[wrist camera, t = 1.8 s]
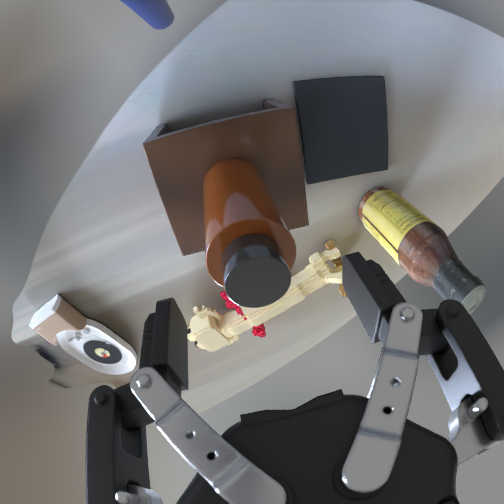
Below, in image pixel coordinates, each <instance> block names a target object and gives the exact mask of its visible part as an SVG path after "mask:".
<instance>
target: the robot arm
mask: <svg viewBox="0 0 504 504" xmlns="http://www.w3.org/2000/svg"><path fill="white" fill-rule="evenodd" d="M342 283H343V287H344V290H345V292H346V294H347V296H348V298H349V300H350V302H351V303H352V305H353V307H354V309H355V311H356V313H357V314H358V316H359V318H360V320H361V322H362V324H363V326H364V327H365V329H366V331H367V333H368V335H369V337H370V339H371V341H372V343H376V342H378V341H381V343H382V345H383V347H382V351H381V355H380V358H379V362H378V365H377V369H376V372H375V376H374V379H373V382H372V385H371V388H370V391H369V394H368V397H367V398H366V397H363V396H359V395H343V392H342V390H341V389H340V390H337V391H334V392H331V393H327V394H324V395H321V396H317V397H316V398H314V399H312V400H310V401H308V402H307V403H305V404H303V405H301V406H299V407H297V408H295V409H292V410H263V411H258V412H253V413H248V414H243V415H240V417H241V421H240V422H238V423H236V424H234V425H233V426H231V427H230V428H229V429H227V430H226V431H225V432H224V433H223V434H222V435H221V436H220V435H219V434H218V433H217V432H216V431H215V430H213V429H212V428H211V427H210V426H209V425H208V424H207V423H206V422H205V421H204V420H203V419H202V418H201V417H200V416H199V415H198V414H197V413H196V412H195V411H194V410H193V409H192V408H191V407H190V406H189V405H188V404H187V403H186V402H185V401H184V400H183V399H182V398H181V391H182V390H189V389H188V346H187V325H186V322H185V319H184V317H183V315H182V313H181V311H180V309H179V308H178V306H177V304H176V302H175V300H174V299H173V298H169V299H164V300H160V301H157V303H156V311H155V313H152V314H149V316H148V318H147V320H146V321H145V324H144V334H143V339H142V340H143V341H142V348H141V357H140V366H139V370H137V371H136V372H135V373H134V374H133V375H132V377H131V379H130V382H129V383H128V384H126V385H123V386H121V387H119V388H116V389H114V390H113V389H112V388H111V387H109V386H106V385H102V386H99V387H97V388H96V389H94V391H93V392H92V393H91V395H90V398H89V406H88V418H87V431H86V457H85V466H86V467H85V473H86V474H85V478H86V479H85V480H86V504H163V502H162V499H161V497H160V496H159V495H158V494H157V493H156V492H155V491H153V490H151V488H150V480H149V469H148V457H147V442H146V441H147V440H146V425H148V424H150V423H153V422H156V423H155V424H156V426H157V428H158V429H159V430H160V431H161V432H162V434H163V435H164V436H165V437H166V438H167V440H168V441H169V442H170V443H171V444H172V445H173V446H174V448H175V449H176V450H177V451H178V452H179V453H180V454H181V455H182V456H183V457H184V458H185V459H186V461H187V462H188V463H189V464H190V465H191V466H192V467H193V468H194V469H195V470H196V471H197V473H196V475H195V476H194V478H193V479H192V481H191V482H190V484H189V485H188V487H187V488H186V490H185V491H184V493H183V494H182V496H181V497H180V498H179V500H178V501H177V503H176V504H459V501H458V499H457V496H456V473H457V466H458V465H459V464H461V463H463V462H464V461H466V460H468V459H470V458H471V457H473V456H474V455H476V454H480V453H482V452H484V451H486V450H488V449H489V448H491V447H493V446H494V445H496V444H497V443H499V442H501V441H502V440H504V370H503V368H502V366H501V365H500V363H499V361H498V359H497V358H496V356H495V355H494V353H493V351H492V349H491V347H490V346H489V344H488V342H487V341H486V339H485V338H484V336H483V334H482V333H481V332H480V330H479V328H478V327H477V325H476V323H475V322H474V320H473V319H472V317H471V316H470V314H469V313H468V312H467V310H466V309H465V307H464V306H463V305H462V304H461V303H460V302H459V301H457V300H453V299H447V300H444V301H443V302H442V303H440V305H439V308H438V309H427V310H422V309H420V308H419V307H418V306H416V305H415V304H413V303H408V302H406V301H405V299H404V298H403V296H402V295H401V294H400V292H399V291H398V289H397V288H396V287H395V285H394V284H393V282H392V281H391V280H390V278H389V277H388V276H387V274H385V271H384V270H383V269H382V267H381V266H380V265H379V264H377V263H376V262H374V261H372V260H368V261H366V260H365V259H364V258H363V256H362V255H361V254H360V253H359V252H356V253H352V254H348V255H345V256H343V267H342ZM418 355H426V356H427V358H428V360H429V362H430V364H431V366H432V368H433V370H434V372H435V375H436V377H437V379H438V381H439V383H440V385H441V387H442V390H443V392H444V394H445V396H446V398H447V401H448V403H449V405H450V408H451V410H452V413H451V415H450V417H449V420H448V427H449V439H448V440H447V439H446V438H444V437H443V436H440V435H438V434H436V433H434V432H432V431H430V430H428V429H426V428H424V427H422V426H420V425H418V424H416V423H414V422H412V421H410V420H408V419H406V418H407V415H408V411H409V407H410V403H411V399H412V394H413V390H414V385H415V380H416V375H417V370H418V364H419V356H418Z"/></svg>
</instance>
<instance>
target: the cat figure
mask: <svg viewBox="0 0 504 504" xmlns="http://www.w3.org/2000/svg"><path fill="white" fill-rule="evenodd" d="M325 246H326V248H327V249H328V251H327V250H325V251H323V252H322V253H320V252H319V253H318V252H316V253H314V254H312V255H311V256H309V257H310V258H309V259H308V260H309V262H310V264H309V265H307V266H306V267H305V269H304V270H302V271H300V272H299V273H297V274H296V275H294V276H292V277H291V284H290V287H289V289H288V291H287V292H286V293H285V295H284V296H283V297H282V298H280V299H279V300H278V301H276V302H274V303H272V304H270V305H268V306H264V307H259V308H247V307H243V306H241V307H239V305H237V304H235V303H234V302H233V301H231V300H230V299H229V298H228V296H227V295H226V292H225V291H223V292H221V293H220V296H221V297H222V298H223V299H224V300H225V301H226V302H227V303H225V305H226V306H227V308H228V309H230V308H231V309H233V306H234V308H235V310H234V311H229V312H228V313H226V314H224V315H222V316H221V315H220V314H219V313H218V312H217V311H216V310H215V309H211V308H207V307H205V305H203V306H202V307H203V308H202V309H201V308H200V307H198V306H196V307H194V308H193V309H194V313H195V314H196V315H195V316H193V317H192V319H191V320H190V326H189V328H188V329H187V339H188V340H190V341H195V346H196V347H198V348H200V349H202V348H203V349H204V348H205V349H207V350H208V351H210V352H212V351H213V352H215V351H217V350H219V349H220V348H222V347H224V346H226V345H228V344H230V345H231V344H233V342H235V341H237V340H239V339H238V338H239V334H240V333H242V332H244V331H246V330H248V329H250V328H251V327H253V331H252V333H253V334H254V336H256V335H257V336H260V337H265V335H266V333H265V327H264V325H263V323H264V322H266V321H267V320H269V319H271V318H273V317H275V316H276V315H278V314H280V313H282V312H283V311H285V310H287V309H288V308H290V307H292V306H294V305H295V304H297V303H299V302H300V301H302V300H304V299H305V298H304V297H305V296H307V295H309V294H310V293H312V292H314V291H315V290H317V289H319V288H320V287H322V286H323V287H324V286H325V285H327V284H329V283H332V282H333V283H335V282H336V283H339V284H340V283H342V267H343V264H342V261H341V260H340V259H339V258H338V257H340V256H341V254H340V252H339V250H338V249H337V248H336V247H335V245H334V243H333V242H332V240H331V239H330V240H329V241H327V242H326V243H325ZM334 258H335V260H334V261H333V263H334V266H335V267H336V268H335V267H334V268H332V269H331V270H330V268H329V266H328V265H327V263H326V261H327V260H329V259H330V260H332V259H334ZM338 289H339V292H340V293H341V295H342V296H343V297H344V296H346V297H347V294H346V292H345V290H344V287H343V283H342V284H340V285H339V288H338Z"/></svg>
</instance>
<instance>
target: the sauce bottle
mask: <svg viewBox="0 0 504 504" xmlns="http://www.w3.org/2000/svg"><path fill="white" fill-rule="evenodd" d="M358 214H359V218H360V219H361V221H362V223H363V224H364V226H365V228H366V229H367V230H368V231H369V232H370V233H371V234H372V235H373V236H374V237H375V238H376V239H377V241H378V242H379V243H380V244H381V245H382V246H383V247H384V248H385V249H386V250H387V251H388V253H389V254H390V255H391V256H392V257H393V258H394V260H395V261H396V262H397V263H398V264H399V265H400V266H401V267H402V268H403V269H404V270H405V271H406V272H407V273H408V274H409V275H410V277H411V278H412V279H413V280H414V281H416V282H419V283H421V284H422V285H426V286H432V287H434V289H435V290H436V291H437V292H438V293H439V294H440V295H441V296H442V298H443V299H444V300H447V299H453V300H457V301H459V302H460V303H461V304H462V305H463V306H464V307H465V309H466V310H467V312H468V313H469V314H471V313H472V312H473V311H474V310H475V309H476V308H477V307H478V305H479V304H480V303H481V302H482V300H483V299H484V296H485V293H486V286H485V285H484V284H483V282H482V281H481V280H480V279H479V278H478V277H476V276H474V275H472V273H470V272H469V270H468V269H467V268H466V267H465V266H464V265H463V263H462V262H461V261H460V260H459V259H458V257H457V255H456V253H455V252H454V250H453V248H452V246H451V244H450V242H449V240H448V238H447V235H446V234H445V232H444V231H443V230H442V229H441V228H440V227H439V226H438V225H436V224H435V223H434V222H433V221H431V220H430V219H429V218H428V217H426V216H425V215H424V214H423V213H421V212H420V211H419V210H418V209H416V208H415V207H414V206H412V205H411V204H410V203H409V202H407V201H406V200H405V199H403V198H402V197H401V196H399V195H398V194H397V193H395V192H394V191H392V190H389V189H387V188H383V187H378V188H375V189H372V190H371V191H369V192H367V193H366V194H365V195H364V197H363V198H362V200H361V202H360V205H359V209H358Z"/></svg>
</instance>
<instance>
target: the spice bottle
mask: <svg viewBox="0 0 504 504" xmlns="http://www.w3.org/2000/svg"><path fill="white" fill-rule="evenodd" d="M203 199H204V236H205V260H206V267H207V270H208V272H209V274H210V276H211V277H212V278H213V279H214V281H215V282H216V283H218V284H219V285H220V286H222V287H224V289H225V292H226V295H227V296H228V298H229V299H230V300H231V301H233V302H234V303H235V304H237V305H240V306H243V307H247V308H259V307H264V306H268V305H270V304H272V303H274V302H276V301H278V300H279V299H280V298H282V297H283V296H284V295H285V293H286V292H287V291H288V289H289V287H290V284H291V272H290V270H291V268H292V266H293V264H294V261H295V258H296V245H295V241H294V239H293V237H292V235H291V233H290V231H289V229H288V227H287V225H286V223H285V221H284V219H283V217H282V215H281V213H280V211H279V209H278V207H277V205H276V203H275V202H274V200H273V198H272V196H271V194H270V192H269V190H268V188H267V186H266V185H265V183H264V181H263V179H262V177H261V175H260V173H259V172H258V170H257V169H256V168H255V167H254V166H253V165H252V164H251V163H249V162H247V161H245V160H242V159H226V160H223V161H221V162H219V163H217V164H215V165H214V166H213V167H212V168H211V169H210V170H209V171H208V173H207V175H206V177H205V179H204V184H203Z"/></svg>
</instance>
